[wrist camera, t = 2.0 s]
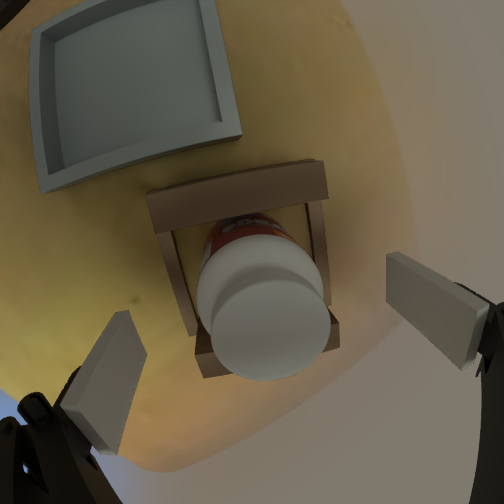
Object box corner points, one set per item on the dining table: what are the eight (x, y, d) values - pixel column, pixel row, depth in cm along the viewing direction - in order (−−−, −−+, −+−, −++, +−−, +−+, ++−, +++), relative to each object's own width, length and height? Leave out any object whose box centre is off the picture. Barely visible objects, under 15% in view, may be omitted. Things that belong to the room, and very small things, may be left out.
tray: (49, 40, 13) (32, 29, 10) (207, -14, 14) (207, -35, 11) (62, 189, 18) (41, 194, 15) (238, 139, 18) (242, 134, 15)
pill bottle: (297, 220, 20) (373, 277, 10) (275, 295, 22) (318, 396, 12) (213, 200, 19) (207, 242, 9) (196, 281, 21) (181, 384, 10)
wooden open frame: (148, 191, 19) (120, 202, 13) (312, 158, 19) (347, 157, 14) (189, 332, 22) (183, 381, 17) (328, 301, 23) (358, 341, 17)
